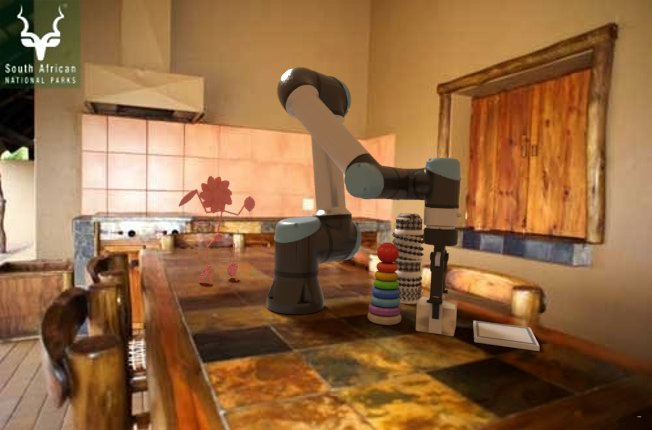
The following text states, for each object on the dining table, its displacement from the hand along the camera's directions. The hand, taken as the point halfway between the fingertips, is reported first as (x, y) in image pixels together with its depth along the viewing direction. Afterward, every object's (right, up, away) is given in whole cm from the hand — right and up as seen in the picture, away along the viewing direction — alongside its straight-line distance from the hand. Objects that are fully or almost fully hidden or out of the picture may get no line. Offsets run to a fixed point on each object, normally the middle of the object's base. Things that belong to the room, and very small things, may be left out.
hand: (436, 326), depth 90 cm
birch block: (0, 0, 0) cm, 0 cm away
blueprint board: (+13, -1, -5) cm, 14 cm away
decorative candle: (-2, +1, +24) cm, 24 cm away
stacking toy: (-11, 0, +4) cm, 12 cm away
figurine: (-63, +3, +44) cm, 77 cm away
